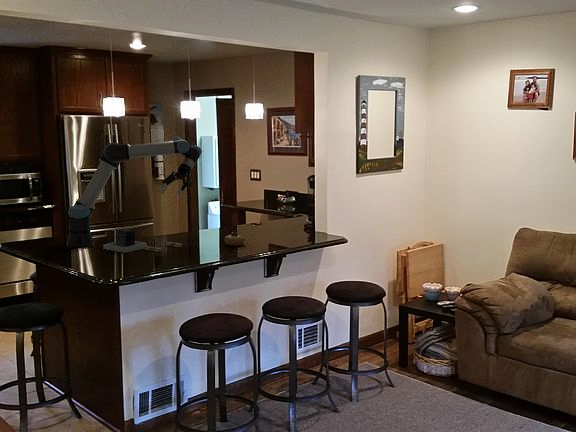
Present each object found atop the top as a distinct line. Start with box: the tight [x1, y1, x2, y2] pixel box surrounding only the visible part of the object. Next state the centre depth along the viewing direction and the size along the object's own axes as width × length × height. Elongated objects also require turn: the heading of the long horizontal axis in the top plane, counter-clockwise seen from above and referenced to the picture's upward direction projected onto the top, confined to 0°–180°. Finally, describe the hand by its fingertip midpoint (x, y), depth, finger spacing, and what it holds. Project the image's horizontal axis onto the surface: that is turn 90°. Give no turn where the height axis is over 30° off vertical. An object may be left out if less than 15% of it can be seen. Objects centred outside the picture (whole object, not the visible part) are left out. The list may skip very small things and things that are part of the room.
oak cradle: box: [143, 241, 183, 253], centre depth 358 cm, size 12×18×2 cm, turn 148°
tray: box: [103, 240, 148, 254], centre depth 356 cm, size 17×17×3 cm
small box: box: [115, 228, 136, 247], centre depth 355 cm, size 11×6×10 cm, turn 48°
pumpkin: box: [224, 229, 246, 247], centre depth 370 cm, size 12×12×9 cm
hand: (169, 193), depth 372 cm, fingers open, 13 cm apart
